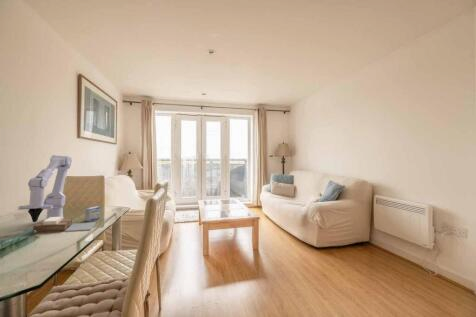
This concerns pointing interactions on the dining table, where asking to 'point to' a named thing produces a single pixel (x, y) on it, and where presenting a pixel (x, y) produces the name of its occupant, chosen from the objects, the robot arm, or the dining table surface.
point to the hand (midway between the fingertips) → (34, 221)
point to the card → (52, 220)
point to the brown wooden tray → (53, 226)
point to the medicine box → (92, 213)
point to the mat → (80, 227)
